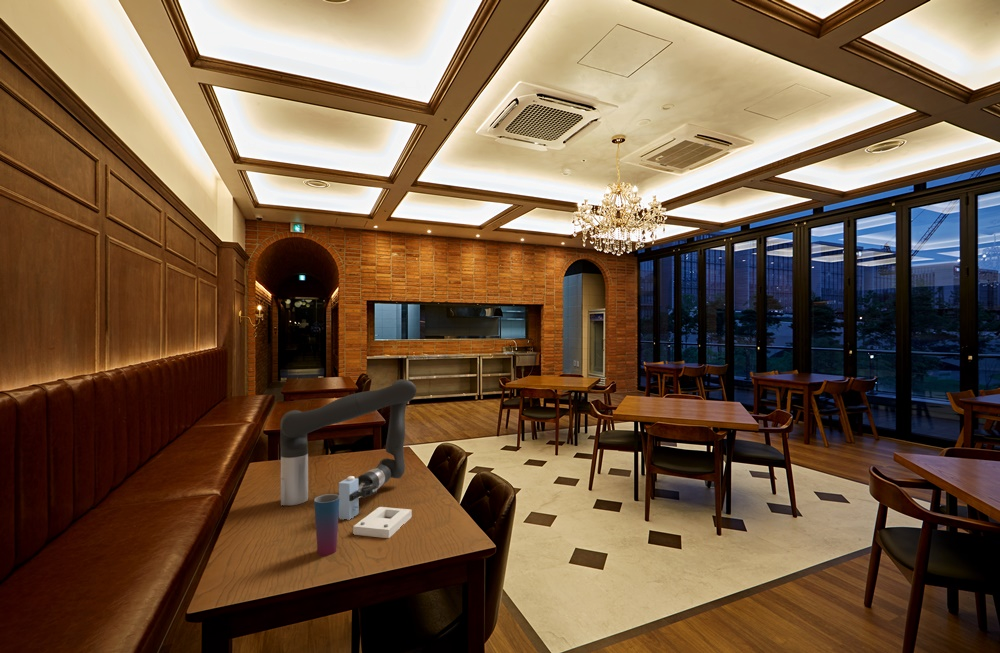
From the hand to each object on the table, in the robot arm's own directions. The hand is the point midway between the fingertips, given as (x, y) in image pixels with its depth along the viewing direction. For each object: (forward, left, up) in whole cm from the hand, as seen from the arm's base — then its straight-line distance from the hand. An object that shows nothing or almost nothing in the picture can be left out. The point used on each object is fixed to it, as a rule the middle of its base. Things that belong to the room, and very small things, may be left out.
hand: (344, 497), depth 149 cm
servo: (+2, +2, -7) cm, 8 cm away
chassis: (+11, -11, -7) cm, 17 cm away
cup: (-7, -21, -7) cm, 23 cm away
